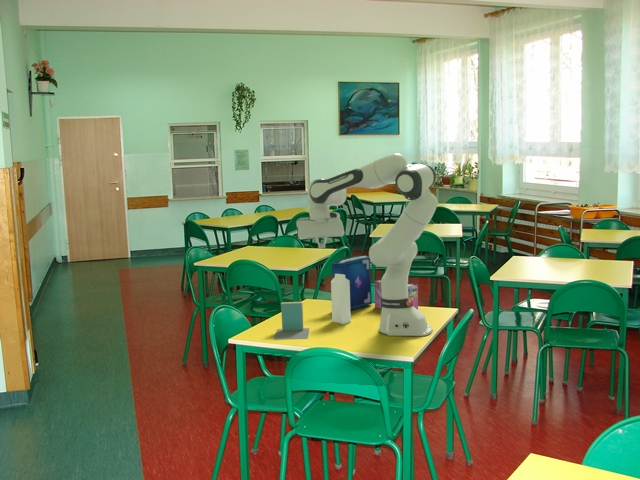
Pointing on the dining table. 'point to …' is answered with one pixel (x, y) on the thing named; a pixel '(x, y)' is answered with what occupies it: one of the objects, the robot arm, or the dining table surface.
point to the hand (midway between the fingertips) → (322, 247)
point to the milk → (340, 299)
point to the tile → (292, 316)
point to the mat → (291, 334)
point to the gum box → (411, 293)
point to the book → (356, 279)
